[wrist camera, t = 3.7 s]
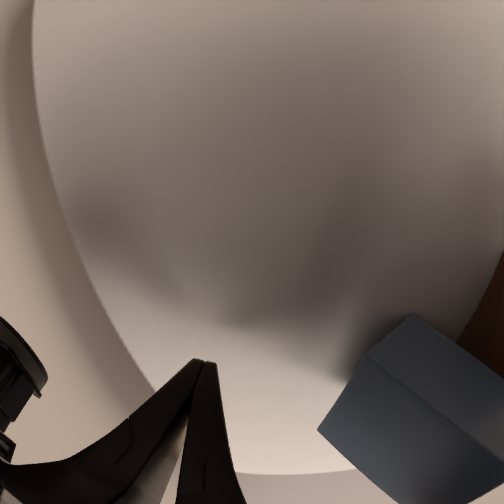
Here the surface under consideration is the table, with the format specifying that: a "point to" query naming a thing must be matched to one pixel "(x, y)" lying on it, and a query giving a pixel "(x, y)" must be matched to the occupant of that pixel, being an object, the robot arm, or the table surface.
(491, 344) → the walnut rail
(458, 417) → the slate block
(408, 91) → the table surface
